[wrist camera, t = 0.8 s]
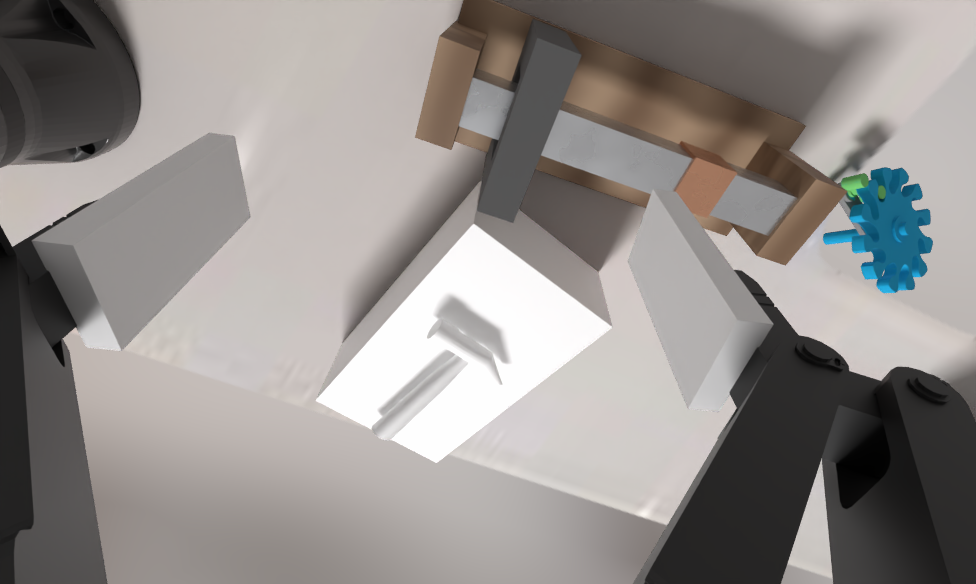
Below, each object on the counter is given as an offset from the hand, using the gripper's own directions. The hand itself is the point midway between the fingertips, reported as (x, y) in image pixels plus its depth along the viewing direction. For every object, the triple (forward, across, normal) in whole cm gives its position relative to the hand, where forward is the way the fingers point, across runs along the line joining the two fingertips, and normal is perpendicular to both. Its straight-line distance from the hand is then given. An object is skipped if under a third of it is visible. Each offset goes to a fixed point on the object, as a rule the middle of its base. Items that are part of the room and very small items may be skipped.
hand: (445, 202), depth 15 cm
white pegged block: (+25, +1, -24) cm, 34 cm away
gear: (+24, +34, -7) cm, 42 cm away
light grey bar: (+19, +11, -3) cm, 22 cm away
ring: (+22, +4, -2) cm, 23 cm away
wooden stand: (+24, +11, -3) cm, 27 cm away
